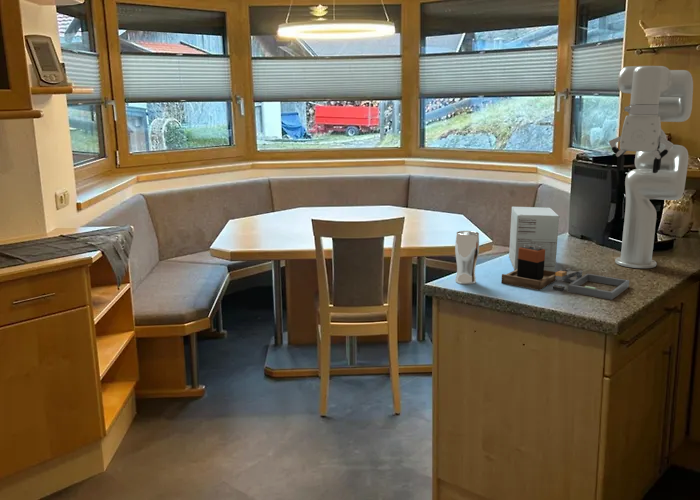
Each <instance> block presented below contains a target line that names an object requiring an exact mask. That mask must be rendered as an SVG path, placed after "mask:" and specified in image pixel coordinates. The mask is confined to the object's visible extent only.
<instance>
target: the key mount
mask: <svg viewBox="0 0 700 500" xmlns="http://www.w3.org/2000/svg"><path fill="white" fill-rule="evenodd" d="M564 271H566V272H567V271H572V268H569V267H568V268H566V269H565V270H564ZM576 272H577V276H574V277H571V278H568V279H565V280H562V281H563V282H567V283H572V282H574V281H575V280H577V279H579V278H580V277H582V276H583V270H581V269H579V270H578V271H576ZM565 289H566V286H562V285H559V284H555V285H553V286H552V290H554V291H559V292H563V291H565Z"/></svg>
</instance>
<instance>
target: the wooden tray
mask: <svg viewBox="0 0 700 500" xmlns="http://www.w3.org/2000/svg"><path fill="white" fill-rule="evenodd" d="M556 272H557V271H547V270H544V275H543V279H540V280H534V279H528V278H522V277H518V276H517V269H516V270H514V269H513V270H512V271H510V272H509V273H506V274H505V273H502V274H501V280H500V281H501V284H505V285H511V286H516V287H521V288H526V289H531V290H532V289H533V290H537V291H541V290H543V289H545V288H546V287H548V286H550V285H552V284H553V283H555V282H557V281H558V280H556V279H555V278H556V275H555V273H556Z"/></svg>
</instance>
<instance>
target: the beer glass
mask: <svg viewBox="0 0 700 500" xmlns="http://www.w3.org/2000/svg"><path fill="white" fill-rule="evenodd" d="M454 253H455V260H456V275H455V280H454V281H455V283H457V284H459V285H467V286H468V285H474V284H476V283H477V279H476V278H477V277H476V266H477V262H478V257H479V253H480V233H479V232H477V231H472V230H460V231H456V236H455V247H454Z"/></svg>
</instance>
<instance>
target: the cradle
mask: <svg viewBox="0 0 700 500" xmlns="http://www.w3.org/2000/svg"><path fill="white" fill-rule="evenodd" d="M587 282H593V283H599V284H602V285H603V284H604V285H610V286H616V287H615V288H614V289H612V290H611V291H609V290H604V289H603V290H602V289H598V288H597V287H594V286H589V285H588V286H587V285H585V286H582V285H584V284H586V283H587ZM629 287H630V279H624V278H623V279H622V278H615V277H611V276H604V275H599V274H598V275H597V274H592V273H585V274H584V275H582V277H580V278H579V279H577V280H575V281H574V282H569V284H568V285H567V293H573V294H578V295H583V296H589V297H594V298H599V299H606V300H610V301H612V300H614V299H615V298H616V297H618V296H619V295H620V294H622V293H623V292H624V291H626V290H627V289H628V288H629Z"/></svg>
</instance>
